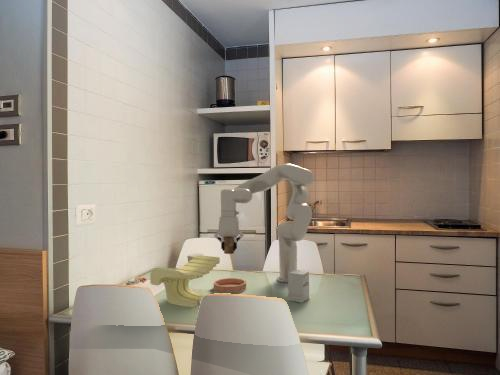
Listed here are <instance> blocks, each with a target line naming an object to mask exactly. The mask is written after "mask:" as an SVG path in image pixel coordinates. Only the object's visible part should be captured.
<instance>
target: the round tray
mask: <svg viewBox="0 0 500 375" xmlns="http://www.w3.org/2000/svg"><path fill="white" fill-rule="evenodd" d="M213 290H214V292H215V293H218V294H222V293H235V294H240V293H244V292H245V291H246V290H247V280H245V279H243V278H237V277H226V278H219V279H217V280H214V282H213Z"/></svg>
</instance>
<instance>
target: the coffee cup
mask: <svg viewBox="0 0 500 375" xmlns="http://www.w3.org/2000/svg"><path fill="white" fill-rule="evenodd" d="M197 255H201V256H204V254H202V253H191V254H188V255H187V262H188V261H190V260H191V259H192V258H193V257H195V256H197ZM201 277H203V276H200V277H199V278H201Z"/></svg>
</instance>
